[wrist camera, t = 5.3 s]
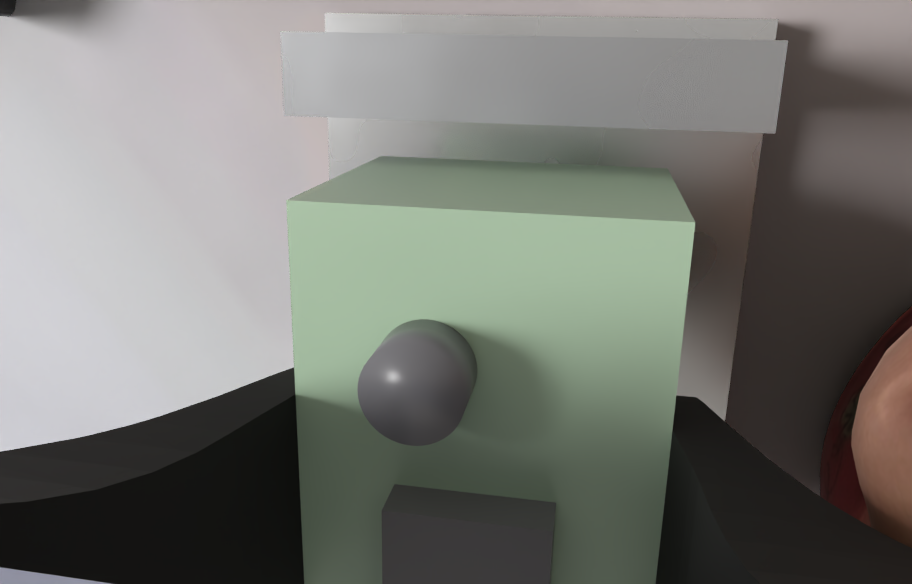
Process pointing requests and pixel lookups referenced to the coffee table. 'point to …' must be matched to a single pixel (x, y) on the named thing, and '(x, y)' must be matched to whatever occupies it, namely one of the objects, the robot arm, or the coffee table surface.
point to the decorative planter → (875, 438)
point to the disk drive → (7, 7)
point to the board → (486, 370)
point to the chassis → (567, 119)
